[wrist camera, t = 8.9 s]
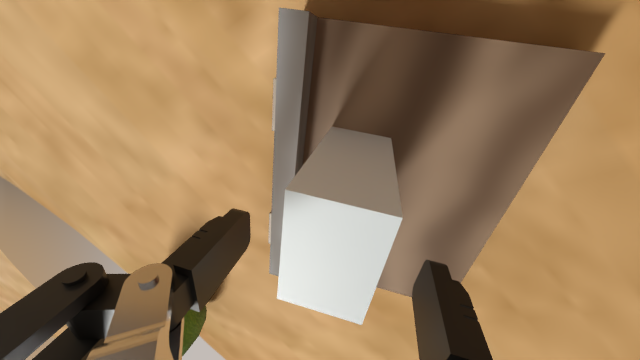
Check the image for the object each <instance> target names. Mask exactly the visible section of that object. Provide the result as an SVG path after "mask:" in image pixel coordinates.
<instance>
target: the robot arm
mask: <svg viewBox="0 0 640 360" xmlns="http://www.w3.org/2000/svg"><path fill="white" fill-rule="evenodd" d="M249 242H250V214H249V213H248V212H245V211H242V210H238V209H231V210H230V211H229V212H228V213H227V214H226V215H224V216H223V217H220V216H218V217H216V218H214V219H212V220H210V221H208V222H207V223H206V224H205V225H204V226H202V227H201V228H200V229H199V231H197V232H196V233H195V234H194V235H192V237H190V238H189V239H188V240H187V241H186V242H185V243H184V244H182V245H181V246H180V247H179V248H178V249H177V250H176V251H175V252H174V253H172V254H171V255H170V256H169V257H168V258H167V259H166V260H165V261H163V262H162V263H156V264H150V265H147V266H144V267H142V268H140V269H138V270H136V271H135V272H133V273H132V274H106V273H105V270H104V268H103V266H102V265H100V264H98V263H83V264H79V265H75V266H73V267H70V268H68V269H66V270H64V271H62V272H61V273H59V274H57V275H56V276H54V277H53V278H52V279H50V280H49V281H47V282H45V283H44V284H43V285H41V286H40V287H38V288H37V289H35V290H34V291H32V292H31V293H29V294H28V295H27V296H25V297H24V298H22V299H21V300H19V301H18V302H16V303H15V304H13V305H12V306H10V307H9V308H8V309H6V310H5V311H3V312H2V313H0V360H25V359H26V358H27V357H28V356H29V355H30V354H32V353H33V352H34V351H35V350H36V349H37V348H38V347H40V346H41V345H42V344H43V343H44V342H45V341H46V340H48V339H49V338H50V337H51V336H52V335H53V334H55V333H56V332H57V331H58V330H59V329H60V328H61V327H63V326H64V325H65V324H66V325H67V326H68V328H67V329H66V330H65V331H64V332H63V333H61V334H60V335H59V336H58V337H57V338H56V339H55V340H54V341H52V342H51V343H50V344H49V345H48V346H47V347H46V348H45V349H43V350H42V351H41V352H40V353H39V354H38V355H37V356H36V357H35V358H33V359H32V360H182V347H183V332H184V316H185V315H186V314H187V312H188V311H189V310H190V309H192V310H195V311H198V312H201V310H202V309H203V307H204V306H205V305H206V303H207V302H208V301H209V299H210V298H211V297H212V295H213V294H214V293H215V291H216V290H217V289H218V287H219V286H220V284H221V283H222V282H223V280H224V279H225V278H226V276H227V275H228V274H229V272H230V271H231V270H232V268H233V267H234V266H235V264H236V263H237V261H238V260H239V259H240V257H241V256H242V255H243V253H244V252H245V251H246V249H247V247H248V245H249ZM412 301H413V310H414V318H415V326H416V334H417V343H418V351H419V359H420V360H493V359H492V356H491V354H490V351H489V348H488V345H487V343H486V340H485V337H484V335H483V332H482V329H481V326H480V324H479V322H478V321H477V320H478V318H477V316H476V313H475V310H473V308H474V307H473V305H472V302H471V299H470V297H469V294H468V293H467V291H466V290H465V289H464V287H463V286H462V285H461V283H460V282H459V281H456V280H452V278H451V275H450V272H449V268H448V266H447V265H446V264H443V263H439V262H435V261H431V260H425V262H424V263H423V266H422V268H421V270H420V272H419V274H418V276H417V278H416V280H415V283H414V285H413V290H412Z"/></svg>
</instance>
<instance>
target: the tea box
mask: <svg viewBox="0 0 640 360" xmlns="http://www.w3.org/2000/svg"><path fill="white" fill-rule="evenodd" d="M402 219H403V216H402V209H401V202H400V196H399V189H398V182H397V175H396V168H395V161H394V154H393V147H392V140H391V138H388V137H383V136H378V135H373V134H368V133H363V132H358V131H353V130H348V129H343V128H337V127H331V129H330V130H329V131H328V133H327V134H326V135H325V137H324V138H323V139H322V141H321V142H320V143H319V145H318V146H317V147H316V149H315V150H314V151H313V153H312V154H311V155H310V157H309V158H308V159H307V161H306V162H305V163H304V165H303V166H302V167H301V169H300V170H299V172H298V173H297V174H296V176H295V177H294V178H293V180H292V181H291V182H290V184H289V185H288V186H287V188H286V189H285V198H284V211H283V225H282V238H281V252H280V265H279V279H278V292H277V299H280V300H283V301H286V302H290V303H293V304H296V305H299V306H302V307H306V308H309V309H312V310H315V311H318V312H322V313H325V314H328V315H331V316H335V317H338V318H341V319H344V320H347V321H351V322H354V323H357V324H360V325H362V323H363V320H364V318H365V315H366V312H367V310H368V307H369V305H370V302H371V299H372V297H373V294H374V292H375V289H376V286H377V284H378V281H379V279H380V276H381V273H382V271H383V268H384V266H385V263H386V260H387V258H388V255H389V253H390V250H391V247H392V245H393V242H394V240H395V237H396V234H397V232H398V229H399V227H400V224H401V221H402Z"/></svg>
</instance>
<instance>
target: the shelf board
mask: <svg viewBox="0 0 640 360" xmlns="http://www.w3.org/2000/svg"><path fill="white" fill-rule="evenodd" d="M604 55H605V53H598V52H590V51H582V50H574V49H566V48H558V47H550V46H542V45H534V44H526V43H518V42H510V41H502V40H494V39H486V38H478V37H470V36H462V35H454V34H447V33H439V32H431V31H423V30H415V29H407V28H399V27H391V26H383V25H375V24H367V23H359V22H351V21H343V20H335V19H327V18H319V17H316V16H315V15H314V14H312V13H311V12H309V11H302V10H294V9H286V8H279V23H278V51H277V78H274V83H273V115H272V131H275V133H274V160H273V188H272V210H271V212H270V213H269V243H270V270H269V274H273V275H276V276H279V265H280V252H281V238H282V225H283V211H284V198H285V189H286V188H287V186H288V185H289V184H290V182H291V181H292V180H293V178H294V177H295V176H296V174H297V173H298V172H299V170H300V169H301V167H302V166H303V165H304V163H305V162H306V161H307V159H308V158H309V157H310V155H311V154H312V153H313V151H314V150H315V149H316V147H317V146H318V145H319V143H320V142H321V141H322V139H323V138H324V137H325V135H326V134H327V133H328V131H329V130H330V129H331V127H337V128H343V129H348V130H353V131H358V132H363V133H368V134H373V135H378V136H383V137H388V138H391V140H392V147H393V154H394V161H395V168H396V175H397V182H398V189H399V196H400V202H401V209H402V216H403V219H402V221H401V224H400V227H399V229H398V232H397V234H396V237H395V240H394V242H393V245H392V247H391V250H390V253H389V255H388V258H387V260H386V263H385V266H384V268H383V271H382V273H381V276H380V279H379V281H378V284H377V286H376V287H378V288H381V289H385V290H388V291H392V292H395V293H399V294H402V295H406V296H409V297H412V290H413V285H414V283H415V280H416V278H417V276H418V274H419V272H420V270H421V268H422V266H423V263H424V262H425V260H431V261H435V262H439V263H443V264H446V265H447V266H448V268H449V272H450V275H451V278H452V280H456V281H459V282H460V283H461V282H462V280H463V278H464V277H465V275H466V274H467V272H468V271H469V269H470V267H471V266H472V264H473V263H474V261H475V259H476V258H477V256H478V255H479V253H480V252H481V250H482V248H483V247H484V245H485V244H486V242H487V240H488V239H489V237H490V236H491V234H492V232H493V231H494V229H495V228H496V226H497V225H498V223H499V221H500V220H501V218H502V217H503V215H504V213H505V212H506V210H507V209H508V207H509V205H510V204H511V202H512V201H513V199H514V198H515V196H516V194H517V193H518V191H519V190H520V188H521V186H522V185H523V183H524V182H525V180H526V178H527V177H528V175H529V174H530V172H531V171H532V169H533V167H534V166H535V164H536V163H537V161H538V159H539V158H540V156H541V155H542V153H543V151H544V150H545V148H546V147H547V145H548V144H549V142H550V140H551V139H552V137H553V136H554V134H555V132H556V131H557V129H558V128H559V126H560V124H561V123H562V121H563V120H564V118H565V117H566V115H567V113H568V112H569V110H570V109H571V107H572V105H573V104H574V102H575V101H576V99H577V97H578V96H579V94H580V93H581V91H582V90H583V88H584V86H585V85H586V83H587V82H588V80H589V78H590V77H591V75H592V74H593V72H594V70H595V69H596V67H597V66H598V64H599V63H600V61H601V59H602V58H603V56H604Z"/></svg>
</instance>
